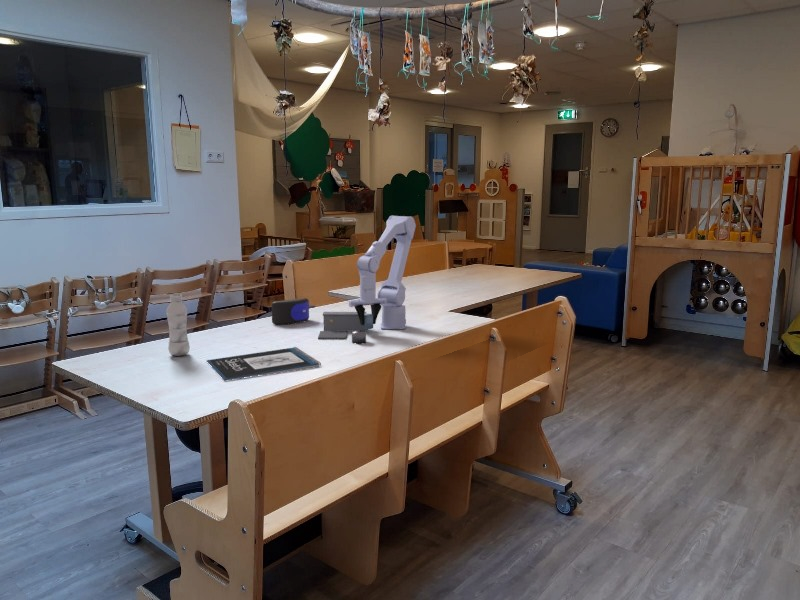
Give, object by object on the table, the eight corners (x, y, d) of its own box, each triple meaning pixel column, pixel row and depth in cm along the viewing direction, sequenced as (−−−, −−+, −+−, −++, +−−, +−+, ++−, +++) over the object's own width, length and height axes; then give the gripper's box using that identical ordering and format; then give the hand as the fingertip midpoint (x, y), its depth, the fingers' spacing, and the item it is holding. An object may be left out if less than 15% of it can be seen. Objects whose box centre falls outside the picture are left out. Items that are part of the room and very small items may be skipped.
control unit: (366, 328, 237) (366, 311, 236) (366, 331, 232) (366, 314, 231) (323, 328, 237) (323, 311, 235) (322, 331, 232) (322, 314, 230)
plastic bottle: (178, 359, 193) (174, 297, 189) (164, 355, 197) (160, 295, 193) (194, 354, 198) (191, 294, 195) (180, 351, 202) (177, 292, 198)
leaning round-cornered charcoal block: (276, 326, 238) (275, 303, 237) (271, 324, 242) (270, 301, 240) (313, 321, 248) (312, 299, 246) (307, 319, 251) (307, 297, 249)
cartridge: (373, 326, 229) (373, 313, 228) (373, 329, 225) (373, 315, 224) (362, 326, 229) (362, 313, 228) (362, 329, 225) (362, 315, 224)
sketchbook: (206, 364, 191) (206, 357, 190) (296, 351, 206) (296, 345, 205) (224, 383, 172) (224, 376, 172) (322, 367, 187) (322, 361, 187)
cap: (366, 340, 219) (366, 329, 218) (365, 344, 214) (365, 333, 213) (352, 340, 219) (352, 329, 218) (351, 344, 214) (351, 333, 213)
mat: (346, 332, 230) (346, 331, 230) (345, 339, 220) (345, 337, 220) (320, 332, 230) (320, 330, 229) (317, 339, 220) (317, 337, 220)
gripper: (381, 285, 231) (381, 320, 233) (345, 287, 225) (346, 323, 227) (389, 288, 224) (388, 324, 227) (352, 291, 218) (352, 327, 221)
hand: (367, 324), depth 227 cm, fingers closed on cartridge, 4 cm apart
